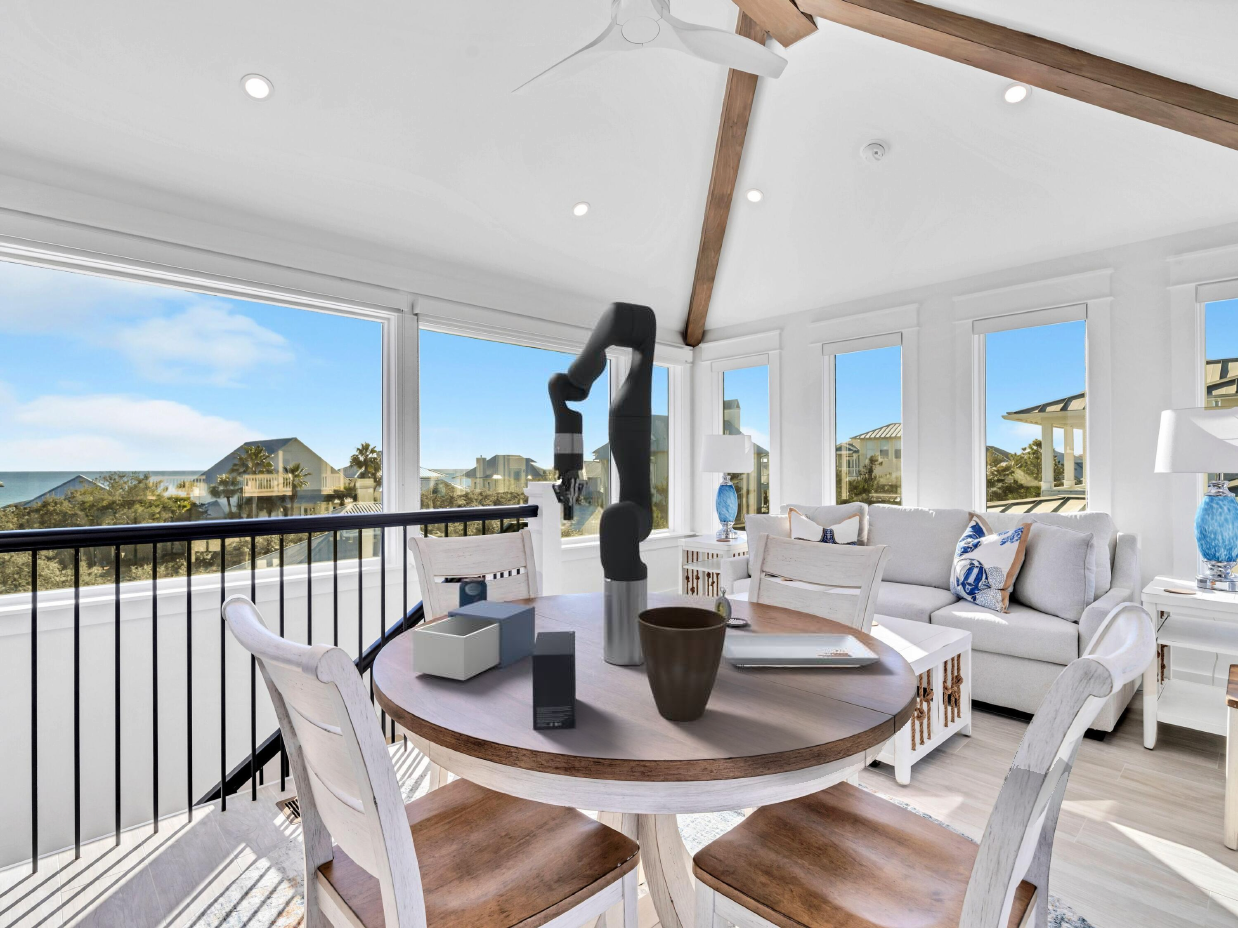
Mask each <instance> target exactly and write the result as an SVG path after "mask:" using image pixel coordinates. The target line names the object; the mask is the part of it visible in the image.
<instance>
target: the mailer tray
mask: <svg viewBox="0 0 1238 928" xmlns="http://www.w3.org/2000/svg"><path fill="white" fill-rule="evenodd" d="M500 624H501V621H495V620H487V619H479V618H472V617H464V616H453V617H450V618H448V617H447V618H445V619H442V620H439V621H435V622H433V623H431V624H427V625H423V626H422V627H418V628H415V629H413V630H412V631H413V635H412V636H413V637H412V638H413V639H412V640H413V642H412V643H413V646H412V647H413V648H412V649H413V650H412V651H413V652H412V653H413V654H412V655H413V656H412V657H413V661H412V663H413V664H412V666H413V667H412V668H413V669H412V671H413V672H417V673H421V674H426V675H427V674H428V675H432V676H438V677H442V678H443V677H444V678H449V679H454V680H461V681H465V680H467V679H469V678H472V677H473V676H474V677H475V676H476V675H478V674H479V673H481V672H484V671H486V670H488V669H489V668H493V666H494V665H496V664H498V663H500Z"/></svg>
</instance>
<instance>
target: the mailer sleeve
mask: <svg viewBox="0 0 1238 928" xmlns="http://www.w3.org/2000/svg"><path fill="white" fill-rule="evenodd" d="M453 616H464V617H472V618H479V619H487V620H495V621H501V624H500V663H498V664H496V665H494V666H492V668H493V667H494V668H500V669H504V668H506V667H508V666H510V665H512V664H515V662H518V661H520V660H522V659H523V658H525V657H527V656H530V655H531V654H533V649H534V646H535V642H536V606H534V605H526V604H518V603H512V602H511V603H510V602H509V603H508V602H501V601H500V602H499V601H492V600H487V601H485V600H482V601H479V602H476V603H473V604H470V605H467V606H464V607H460V608H459V607H458V608H455V609H452V610H448V611H447V618H450V617H453Z"/></svg>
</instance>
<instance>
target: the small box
mask: <svg viewBox="0 0 1238 928" xmlns="http://www.w3.org/2000/svg"><path fill="white" fill-rule="evenodd" d="M536 634H537V635H536V636H535V646H534V649H533V653H532V655H531V658H532V659H531V662H532V666H531V667H532V669H531V670H532V671H531V672H532V675H531V676H532V677H531V678H532V681H531V682H532V729H533V731H536V730H538V731H539V730H562V729H563V730H564V729H565V730H568V729H573V730H575V729H576V727H577V725H576V724H577V722H576V720H577V719H576V718H577V717H576V715H577V714H576V713H577V709H576V708H577V707H576V706H577V705H576V704H577V698H576V696H577V695H576V693H577V690H576V688H577V685H576V683H577V682H576V681H577V679H576V677H577V675H576V631H574V630H569V631H567V630H566V631H564V630H563V631H540V632H539V631H538V632H537V633H536Z"/></svg>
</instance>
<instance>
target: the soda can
mask: <svg viewBox="0 0 1238 928" xmlns="http://www.w3.org/2000/svg"><path fill="white" fill-rule="evenodd" d="M458 587H459V588H458V589H459V590H458V594H459V595H458V608H460V607H464V606H467V605H470V604H473V603H476V602H479V601H482V600H485V601H488V584H487V582H486V578H485V577H483V576H468V577H463V578H461V581H460V584H459V586H458Z"/></svg>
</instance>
